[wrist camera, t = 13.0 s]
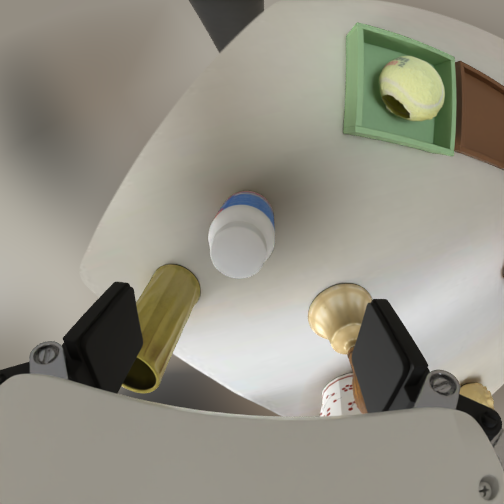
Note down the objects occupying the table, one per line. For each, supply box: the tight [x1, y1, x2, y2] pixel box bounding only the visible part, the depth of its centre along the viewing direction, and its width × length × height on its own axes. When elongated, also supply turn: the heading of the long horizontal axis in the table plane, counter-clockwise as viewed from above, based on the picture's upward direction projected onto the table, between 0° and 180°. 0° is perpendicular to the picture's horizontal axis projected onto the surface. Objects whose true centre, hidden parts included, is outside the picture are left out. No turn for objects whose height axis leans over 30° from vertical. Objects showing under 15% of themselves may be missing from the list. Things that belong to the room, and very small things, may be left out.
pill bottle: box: [208, 191, 275, 279], centre depth 24 cm, size 6×5×10 cm
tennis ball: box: [379, 56, 445, 121], centre depth 19 cm, size 6×7×7 cm
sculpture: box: [459, 383, 494, 410], centre depth 35 cm, size 11×12×11 cm
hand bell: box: [308, 284, 372, 414], centre depth 25 cm, size 8×8×16 cm
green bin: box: [343, 23, 456, 156], centre depth 21 cm, size 11×11×4 cm
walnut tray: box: [454, 61, 504, 170], centre depth 21 cm, size 11×13×2 cm
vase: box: [121, 265, 200, 393], centre depth 26 cm, size 6×6×14 cm
